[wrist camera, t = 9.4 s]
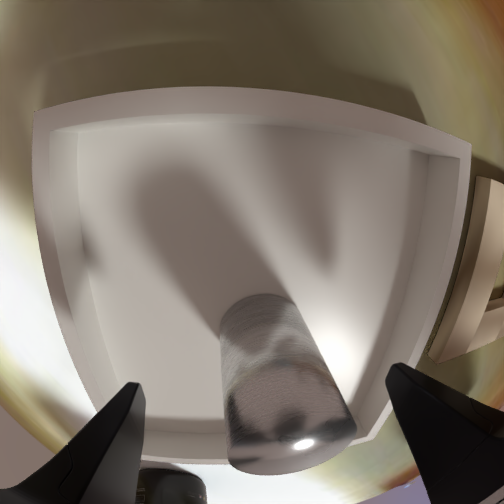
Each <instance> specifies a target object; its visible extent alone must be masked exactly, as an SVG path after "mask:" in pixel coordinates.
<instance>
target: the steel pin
mask: <svg viewBox="0 0 504 504" xmlns="http://www.w3.org/2000/svg"><path fill="white" fill-rule="evenodd" d="M219 334H220V356H221V375H222V391H223V406H224V420H225V433H226V445H227V456H228V461H229V463H230V464H231V465H232V466H233V467H234V468H236V469H237V470H240V471H242V472H245V473H249V474H255V475H282V474H288V473H294V472H298V471H302V470H305V469H308V468H311V467H314V466H317V465H319V464H321V463H323V462H325V461H327V460H329V459H331V458H333V457H334V456H336V455H337V454H339V453H340V452H341V451H343V450H344V449H345V448H346V447H347V446H348V445H349V444H350V443H351V442H352V441H353V439H354V437H355V436H356V433H357V425H356V423H355V421H354V419H353V417H352V415H351V413H350V411H349V409H348V407H347V405H346V402H345V400H344V398H343V396H342V394H341V392H340V390H339V388H338V386H337V384H336V382H335V380H334V378H333V376H332V374H331V372H330V370H329V368H328V366H327V364H326V362H325V360H324V358H323V356H322V354H321V352H320V350H319V348H318V346H317V344H316V342H315V340H314V338H313V337H312V335H311V333H310V331H309V329H308V327H307V325H306V323H305V321H304V319H303V317H302V315H301V313H300V311H299V309H298V308H297V307H296V305H295V304H294V303H293V302H291V301H290V300H289V299H287V298H285V297H283V296H280V295H276V294H268V293H263V294H255V295H251V296H248V297H245V298H243V299H241V300H239V301H238V302H236V303H235V304H233V305H232V306H231V307H230V308H229V309H228V310H227V311H226V313H225V314H224V316H223V318H222V320H221V323H220V329H219Z"/></svg>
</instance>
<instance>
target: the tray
mask: <svg viewBox="0 0 504 504" xmlns="http://www.w3.org/2000/svg"><path fill="white" fill-rule="evenodd" d="M471 148H472V144H470V143H468V142H466V141H464V140H462V139H459V138H457V137H455V136H453V135H450V134H448V133H445V132H443V131H441V130H438V129H436V128H433V127H430V126H428V125H425V124H422V123H419V122H417V121H414V120H411V119H408V118H405V117H402V116H398V115H395V114H392V113H389V112H385V111H382V110H378V109H374V108H371V107H367V106H363V105H359V104H355V103H350V102H346V101H341V100H336V99H331V98H326V97H321V96H315V95H309V94H302V93H295V92H287V91H279V90H269V89H258V88H243V87H215V86H198V87H170V88H155V89H144V90H135V91H127V92H119V93H113V94H106V95H101V96H95V97H90V98H85V99H80V100H76V101H71V102H67V103H63V104H59V105H55V106H51V107H48V108H44V109H41V110H38V111H34V118H33V132H32V186H33V200H34V211H35V220H36V228H37V235H38V241H39V247H40V253H41V258H42V263H43V268H44V272H45V277H46V281H47V285H48V289H49V293H50V296H51V300H52V303H53V307H54V310H55V314H56V317H57V320H58V323H59V326H60V329H61V332H62V335H63V337H64V340H65V343H66V346H67V348H68V351H69V353H70V356H71V358H72V361H73V363H74V365H75V368H76V370H77V372H78V375H79V377H80V379H81V381H82V383H83V385H84V388H85V390H86V392H87V394H88V396H89V398H90V400H91V402H92V403H93V405H94V407H95V409H96V411H97V413H98V412H99V411H100V410H101V409H102V408H103V407H104V406H105V405H106V404H107V403H108V402H109V401H110V400H111V399H112V398H113V397H114V396H115V395H116V394H117V393H118V392H119V391H120V389H121V388H122V387H123V386H124V385H125V384H126V383H128V382H138V383H140V384H141V386H142V389H143V392H144V395H145V399H146V410H145V426H144V442H143V449H142V455H141V460H148V461H156V462H167V463H180V464H230V463H229V461H228V456H227V445H226V433H225V420H224V406H223V391H222V375H221V356H220V334H219V329H220V323H221V320H222V318H223V316H224V314H225V313H226V311H227V310H228V309H229V308H230V307H231V306H232V305H233V304H235V303H236V302H238V301H239V300H241V299H243V298H245V297H248V296H251V295H255V294H263V293H268V294H276V295H280V296H283V297H285V298H287V299H289V300H290V301H291V302H293V303H294V304H295V305H296V307H297V308H298V309H299V311H300V313H301V315H302V317H303V319H304V321H305V323H306V325H307V327H308V329H309V331H310V333H311V335H312V337H313V338H314V340H315V342H316V344H317V346H318V348H319V350H320V352H321V354H322V356H323V358H324V360H325V362H326V364H327V366H328V368H329V370H330V372H331V374H332V376H333V378H334V380H335V382H336V384H337V386H338V388H339V390H340V392H341V394H342V396H343V398H344V400H345V402H346V405H347V407H348V409H349V411H350V413H351V415H352V417H353V419H354V421H355V423H356V425H357V433H356V436H355V437H354V439H353V441H352V442H351V443H350V444H349V445H348V446H352V445H356V444H359V443H362V442H366V441H369V440H372V439H374V437H375V436H376V434H377V433H378V431H379V430H380V428H381V427H382V425H383V424H384V422H385V421H386V419H387V417H388V416H389V414H390V413H391V411H392V409H393V406H392V403H391V400H390V397H389V394H388V391H387V388H386V385H385V378H386V376H387V374H388V372H389V369H390V367H391V365H392V364H395V363H399V362H402V363H404V364H406V365H408V366H410V367H412V368H414V369H415V367H416V365H417V363H418V361H419V359H420V357H421V354H422V352H423V350H424V348H425V346H426V343H427V341H428V339H429V336H430V334H431V331H432V329H433V326H434V324H435V321H436V319H437V316H438V313H439V310H440V308H441V305H442V302H443V299H444V296H445V293H446V290H447V287H448V283H449V280H450V277H451V273H452V270H453V266H454V262H455V258H456V254H457V250H458V246H459V241H460V237H461V232H462V227H463V221H464V216H465V210H466V203H467V196H468V188H469V178H470V166H471ZM348 446H347V447H348Z"/></svg>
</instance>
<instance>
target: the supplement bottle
mask: <svg viewBox="0 0 504 504" xmlns="http://www.w3.org/2000/svg"><path fill="white" fill-rule="evenodd" d="M135 504H207V495H206V486H205V484H204V483H203V481H202V480H200V479H199V478H197V477H195V476H193V475H190V474H187V473H183V472H178V471H173V470H165V469H146V470H141V471H139V474H138V481H137V489H136V496H135Z"/></svg>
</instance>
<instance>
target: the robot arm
mask: <svg viewBox="0 0 504 504" xmlns="http://www.w3.org/2000/svg"><path fill="white" fill-rule="evenodd" d="M385 385H386V388H387V391H388V394H389V397H390V400H391V403H392V406H393V409H394V412H395V415H396V417H397V420H398V422H399V424H400V426H401V429H402V431H403V433H404V436H405V438H406V440H407V443H408V445H409V447H410V450H411V453H412V455H413V457H414V460H415V462H416V465H417V467H418V470H419V472H420V475H421V477H422V480H423V482H424V485H425V488H426V490H427V494H428V496H429V499H430V502H431V504H504V412H503V411H500V410H497V409H495V408H492V407H490V406H487V405H485V404H482V403H480V402H478V401H476V400H474V399H472V398H469V397H468V396H466V395H464V394H462V393H460V392H458V391H456V390H454V389H452V388H450V387H448V386H446V385H444V384H443V383H441V382H439V381H437V380H435V379H433V378H431V377H429V376H427V375H425V374H423V373H421V372H420V371H418V370H416V369H414V368H412V367H410V366H408V365H406V364H404V363H402V362H399V363H395V364H392V365H391V367H390V369H389V372H388V374H387V376H386V378H385ZM145 410H146V399H145V395H144V392H143V389H142V386H141V384H140V383H138V382H128V383H126V384H125V385H124V386H123V387H122V388H121V389H120V391H119V392H118V393H117V394H116V395H115V396H114V397H113V398H112V399H111V400H110V401H109V402H108V403H107V404H106V405H105V406H104V407H103V408H102V409H101V410H100V411H99V412H98V413H97V414H96V415H95V416H94V417H93V418H92V419H91V420H90V421H89V422H88V423H87V424H86V425H85V426H84V427H83V428H82V429H81V430H80V431H79V432H78V433H77V434H76V435H75V436H74V437H73V438H72V439H71V440H70V441H69V442H68V445H65V446H64V447H63V448H62V449H61V450H60V451H59V452H58V453H57V454H56V455H55V456H54V457H53V458H52V459H51V460H50V461H49V462H47V463H46V464H45V465H44V466H42V467H41V468H40V469H38V470H37V471H36V472H34V473H33V474H32V475H30V476H29V477H28V478H27V479H25V480H24V481H22V482H21V483H19V484H18V485H16V486H14V487H11V488H7V489H0V504H135V496H136V489H137V481H138V474H139V468H140V461H141V455H142V449H143V442H144V426H145Z"/></svg>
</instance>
